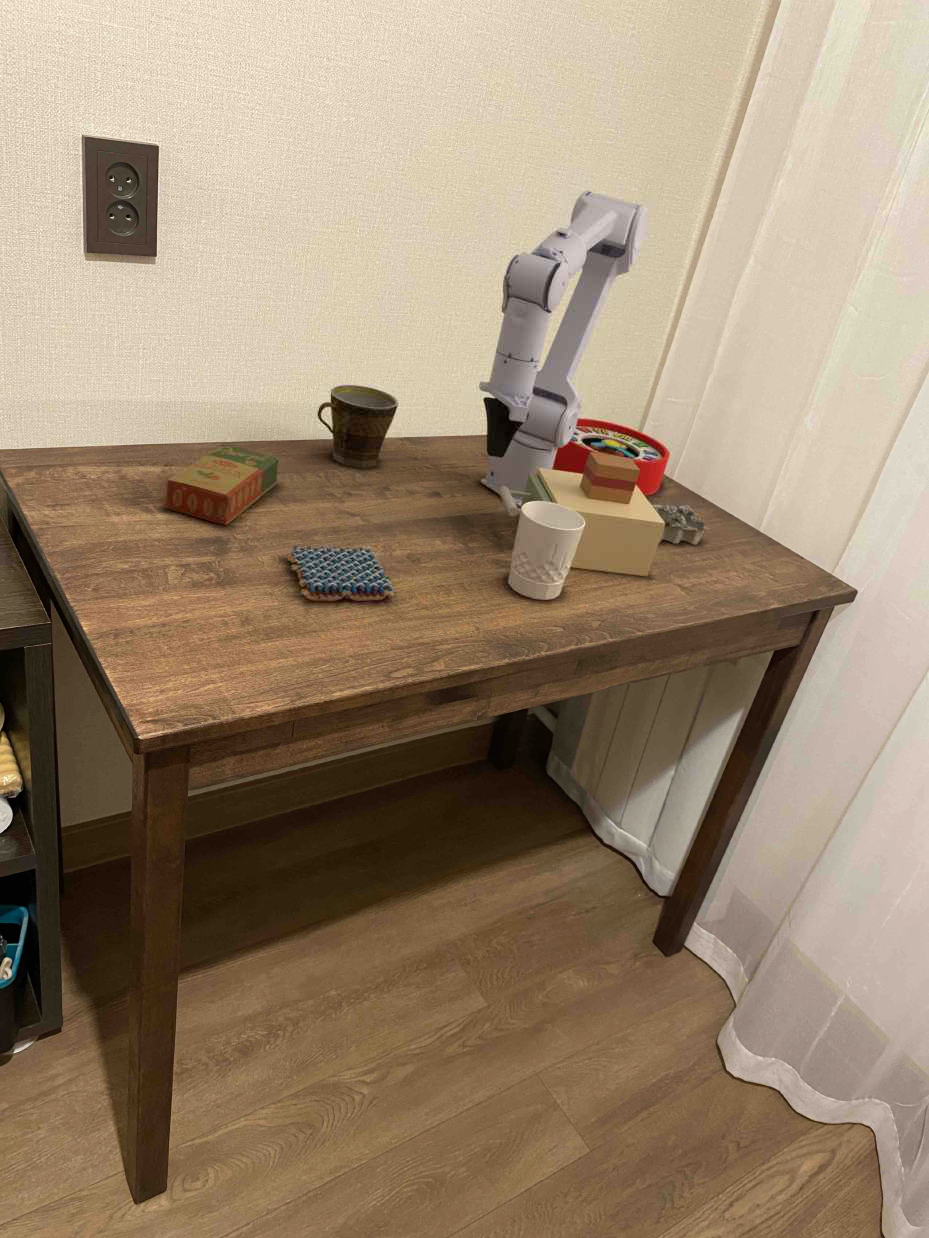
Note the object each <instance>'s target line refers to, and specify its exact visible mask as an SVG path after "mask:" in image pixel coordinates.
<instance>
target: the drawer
mask: <svg viewBox="0 0 929 1238" xmlns="http://www.w3.org/2000/svg"><path fill="white" fill-rule="evenodd" d="M499 494H500V495H499ZM499 494H498V495H499V496H500V498H501V501H502V503H503V506H504V508H505V510H506V512H507V514H508V516H509V517H511V518H515V517H517V516H518V515H519V516H520V513H521V508H522V506H523V505H524V504H525V503H527V502H532V501H545V502H551V503H553V501H552V500H551V498H550V496H549V494H548V492H547V490H546V489H545V488H544V487H543V485H542V483H541V481H540V479H539V478H538V476H537V475H534V474H529V476H528V480H527V484H526V488H525V492H517V491H509V489H508V488H507V487H505V486H503V487H501V488H500V489H499ZM512 496H515V497H522V498H523V500H522V503H521V507H518V506H516V504H515V502H514V500H513V498H512Z"/></svg>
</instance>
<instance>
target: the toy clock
mask: <svg viewBox="0 0 929 1238" xmlns="http://www.w3.org/2000/svg"><path fill="white" fill-rule="evenodd" d="M589 452H594V453H600V454H607V455H613V456H620V457H626V458H631V459H632V461H633V462H634V463H635V464H636V466H637V467H638V468H639V469H640V472H639V475H638V478H637V481H636V485H637V487H638V488H639V489H640V491H641V492H642V493H643V495H644V496H649V495H652V494H654V493H656V492H657V491H659V489H660V486H661V483H662V480H663V477H664V475H665V470H666V468H667V465H668V463H669V459H670V455H671V454H670V451H669V449H668V448H667V447H666V446H665V445H664V444H662V442H660V441H658V440H657V439H655V438H654V437H651V436H650V435H647V434H646V433H643V432H640V431H639V430H635V429H633V428H630V427H628V426H623V425H621V424H618V423H613V422H609V421H604V420H598V419H590V418H583V417H582V418H579V417H578V420H577V424H576V428H575V430H574V433H573V435H572V437H571V439H570V441H569V442H568V443H567V444H566V445H565V446H563V447H561V448H559V447H558V449H557V453H556V457H555V460H554V464H553V468H552V470H559V471H566V472H572V473H579V474H583V472H584V469H585V465H586V463H587V459H588V456H589Z"/></svg>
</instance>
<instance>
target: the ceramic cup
mask: <svg viewBox="0 0 929 1238" xmlns="http://www.w3.org/2000/svg"><path fill="white" fill-rule="evenodd" d="M398 406H399V400H398V399H397V398H396V397H395V396H393V395H392V394H390V393H388V392H385V391H383V390H380V389H378V388H373V387H369V386H364V385H354V384H343V385H341V384H340V385H337V386H334V387H332V388H331V389H330V401H325V402H323V403H321V404H320V405H319V408H318V410H317V418H318V420H319V421H320V423H321V424H322V425H324V426H325V427H326V428H327V429H328V431H329V432H330V434H332V450H333V451H332V457H333V460H335V461H336V462H338V463H340V464H341V465H343V466H347V467H352V468H356V469H365V468H373V467H375V466H376V464H377V461H378V458H379V456H380V453H381V450H382V446H383V444H384V441H385V439H386V436H387V433H388V431H389V429H390V427H391V425H392V423H393V420H394V417H395V416H396V413H397V409H398ZM326 408H330V413H331V424H332V427H331V426H330V425H329V423H328V422H326V421H325V420H324V419H323V417H322V412H323V410H325V409H326Z"/></svg>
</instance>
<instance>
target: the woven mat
mask: <svg viewBox="0 0 929 1238" xmlns="http://www.w3.org/2000/svg"><path fill="white" fill-rule="evenodd" d="M289 553H290V555H291V556H290V555H289V556H287V562H290V563H292V564H291V566H290V569H291V571H292V572H295V573H296V574H297V578H298V580H299V581H298V584H299V585H300V587H301V590H300V594H301V595H303V597H305V599H308V600H311V601H313V602H314V601H315V602H316V601H318V602H321V601H322V602H335V601H339V600H342V599H349V600H353V601H355V602H357V601H358V602H360V601H381V600H384V599H392V598H393V597H394V596H395V593H394V592H393V586H392V585H391V584H392V581H390V580H389V579H387V578H388V574H387V573H385V570H384V569H383V567H382V566H381V565H382V564H381V562H380V561H378V560H377V558H378V556H376V555H375V552H374V551H372V550H371V549H369V548H365V550H364V548H363V547H362V546H361V547H359V550H358V549H357V548H352V549H351V547H350V546H349V547H346V549H345V548H339V549H338V546H334V547H333V548H326V549H325V547H324V546H320V547H319V548H318V547H313V549H312V548H311V545H307V547H306V548H305V547H300V550H299V549H298V545H293V549H292V551H290V552H289ZM386 577H387V578H386ZM303 587H304V588H303Z"/></svg>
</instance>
